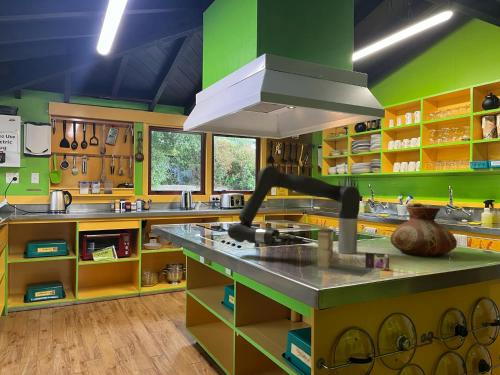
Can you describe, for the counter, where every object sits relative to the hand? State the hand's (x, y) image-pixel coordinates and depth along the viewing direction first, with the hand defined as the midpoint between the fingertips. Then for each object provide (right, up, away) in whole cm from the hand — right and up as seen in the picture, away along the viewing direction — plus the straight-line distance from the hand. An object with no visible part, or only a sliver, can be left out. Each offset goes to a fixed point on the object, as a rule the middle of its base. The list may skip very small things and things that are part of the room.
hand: (302, 240), depth 159 cm
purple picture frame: (+29, -11, -6) cm, 32 cm away
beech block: (+9, -10, -6) cm, 14 cm away
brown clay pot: (+64, -11, +30) cm, 72 cm away
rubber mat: (+13, -10, -9) cm, 19 cm away
